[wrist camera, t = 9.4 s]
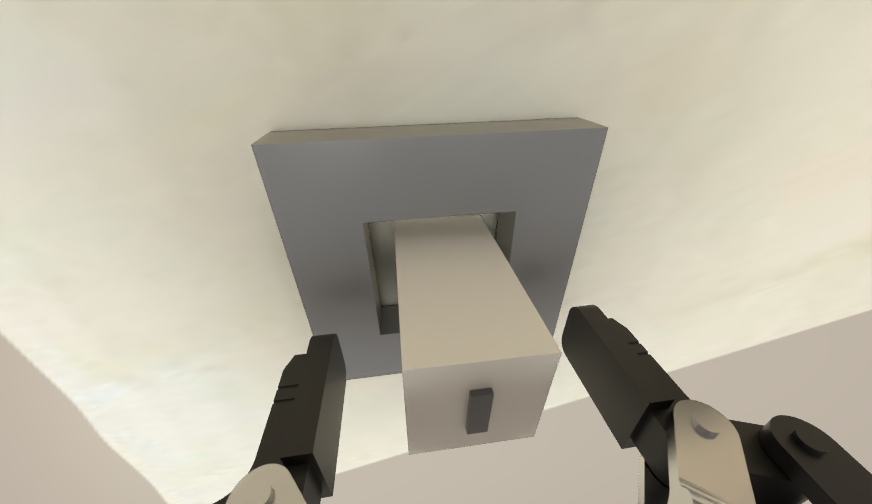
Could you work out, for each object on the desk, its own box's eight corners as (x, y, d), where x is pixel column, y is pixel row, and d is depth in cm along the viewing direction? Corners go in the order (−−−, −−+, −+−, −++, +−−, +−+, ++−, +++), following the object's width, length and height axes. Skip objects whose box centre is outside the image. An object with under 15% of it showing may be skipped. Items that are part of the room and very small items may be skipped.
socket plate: (270, 131, 11) (251, 145, 10) (578, 117, 13) (608, 127, 11) (333, 351, 18) (328, 382, 16) (534, 327, 19) (548, 353, 18)
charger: (393, 219, 14) (402, 378, 7) (480, 215, 15) (565, 358, 8) (398, 289, 16) (409, 461, 9) (474, 283, 17) (536, 442, 10)
